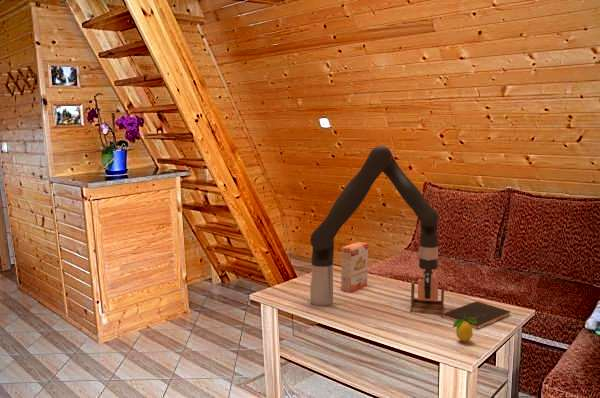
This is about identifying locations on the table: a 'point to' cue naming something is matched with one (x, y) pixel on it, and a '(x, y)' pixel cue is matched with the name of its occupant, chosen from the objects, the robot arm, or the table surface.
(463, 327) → the lemon
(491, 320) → the hardcover book
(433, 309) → the track frame
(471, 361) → the table surface
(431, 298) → the door panel
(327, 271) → the robot arm
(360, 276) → the cracker box
